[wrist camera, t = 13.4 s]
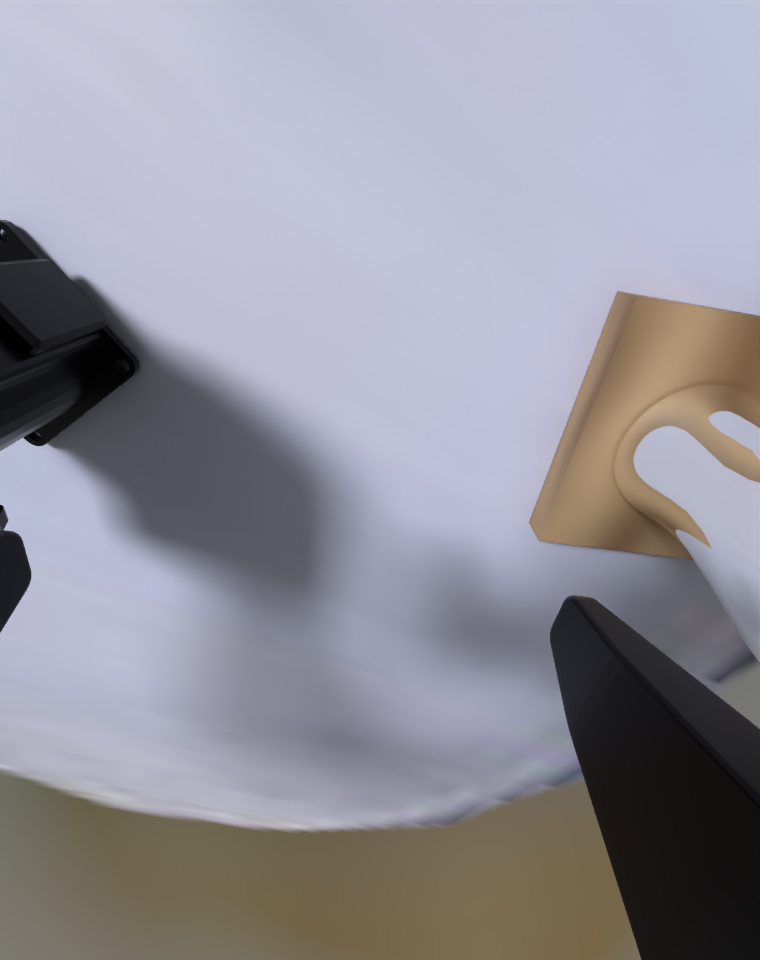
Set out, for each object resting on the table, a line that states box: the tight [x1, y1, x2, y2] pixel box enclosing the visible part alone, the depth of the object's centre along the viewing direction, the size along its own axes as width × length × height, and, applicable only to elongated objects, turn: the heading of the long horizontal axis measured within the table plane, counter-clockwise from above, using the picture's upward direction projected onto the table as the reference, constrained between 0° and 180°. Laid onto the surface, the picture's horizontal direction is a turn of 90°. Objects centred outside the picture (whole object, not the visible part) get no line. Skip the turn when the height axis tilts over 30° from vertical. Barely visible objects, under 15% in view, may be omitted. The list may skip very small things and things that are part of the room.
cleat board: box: [529, 291, 760, 560], centre depth 17 cm, size 10×11×8 cm
